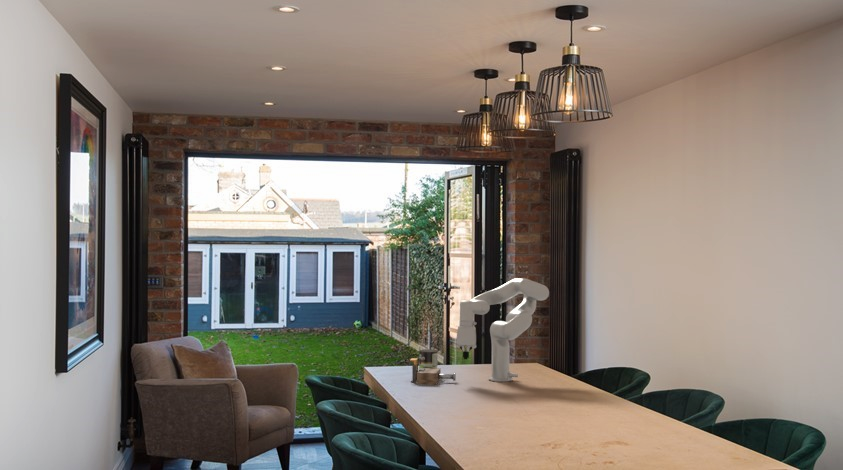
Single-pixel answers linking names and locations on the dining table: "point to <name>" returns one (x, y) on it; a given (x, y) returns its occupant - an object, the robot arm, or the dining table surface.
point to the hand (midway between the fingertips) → (465, 359)
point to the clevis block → (425, 375)
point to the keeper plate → (414, 361)
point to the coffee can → (427, 358)
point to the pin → (447, 376)
